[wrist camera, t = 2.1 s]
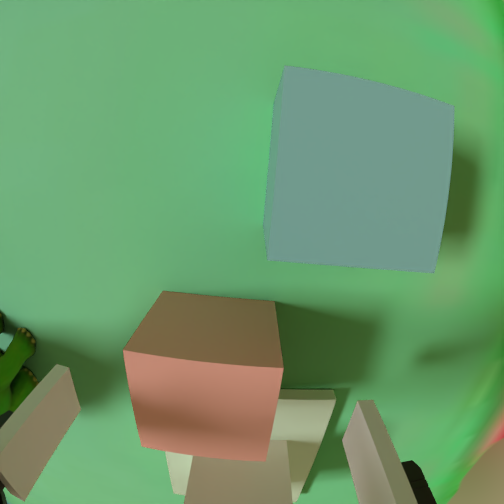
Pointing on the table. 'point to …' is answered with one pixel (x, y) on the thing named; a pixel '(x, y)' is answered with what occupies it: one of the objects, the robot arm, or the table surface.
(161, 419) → the brick coral
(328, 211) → the brick teal
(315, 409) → the plate
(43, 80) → the table surface
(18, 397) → the toy
